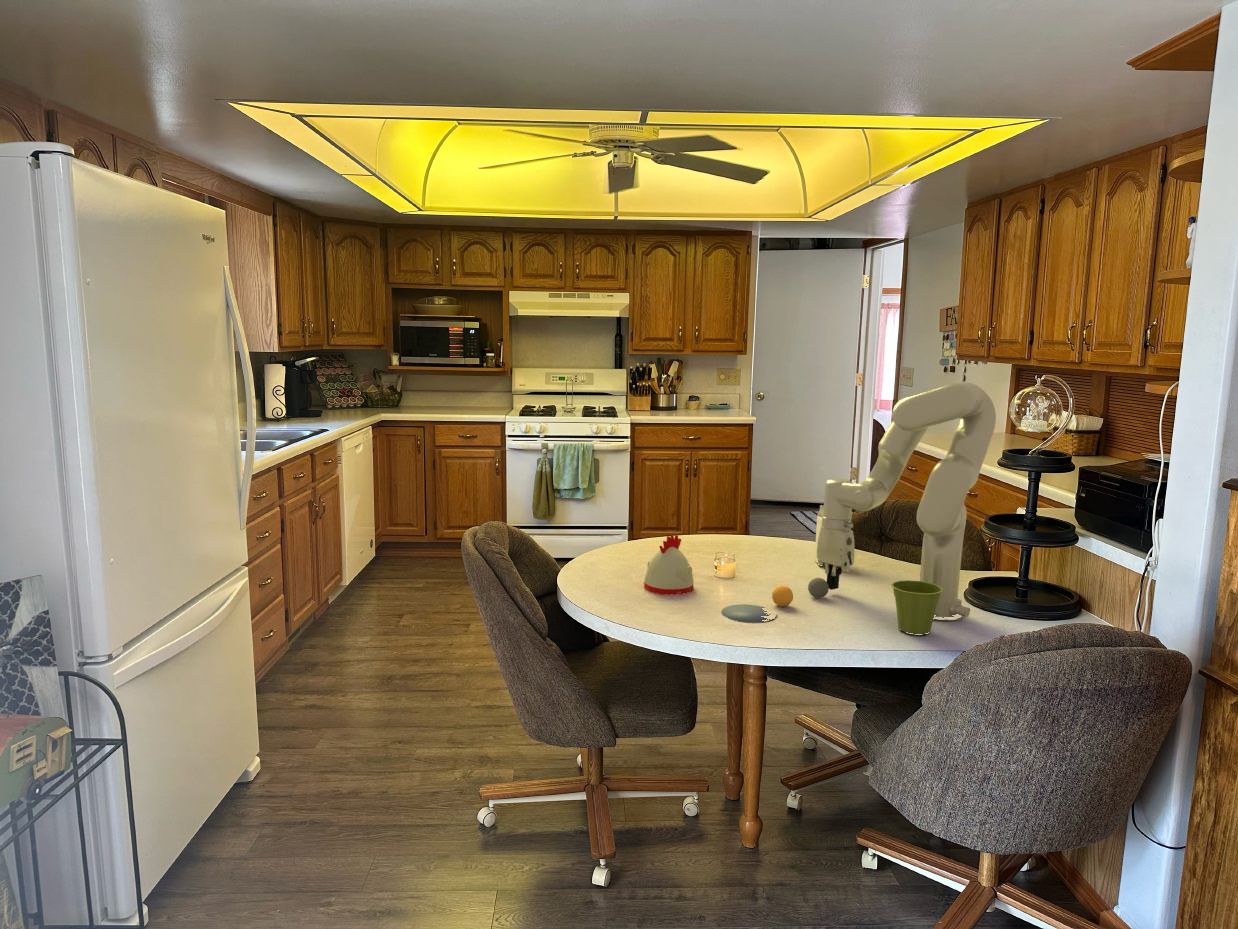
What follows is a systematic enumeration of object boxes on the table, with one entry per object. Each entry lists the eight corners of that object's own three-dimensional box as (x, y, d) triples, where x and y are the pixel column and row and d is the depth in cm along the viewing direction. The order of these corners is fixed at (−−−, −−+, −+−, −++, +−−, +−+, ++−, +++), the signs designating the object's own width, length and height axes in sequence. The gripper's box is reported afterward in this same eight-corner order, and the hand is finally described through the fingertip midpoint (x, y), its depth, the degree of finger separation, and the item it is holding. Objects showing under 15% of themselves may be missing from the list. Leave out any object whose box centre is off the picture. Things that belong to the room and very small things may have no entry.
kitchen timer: (703, 588, 234) (705, 536, 232) (670, 598, 225) (672, 544, 223) (667, 578, 244) (668, 528, 242) (634, 586, 235) (635, 534, 232)
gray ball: (832, 598, 227) (833, 579, 227) (818, 601, 224) (819, 582, 223) (816, 593, 232) (817, 574, 231) (803, 596, 229) (804, 577, 228)
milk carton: (842, 568, 259) (845, 508, 257) (819, 567, 259) (822, 507, 257) (836, 562, 266) (840, 503, 264) (814, 561, 267) (817, 503, 264)
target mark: (788, 616, 211) (788, 615, 211) (748, 626, 203) (748, 625, 203) (749, 602, 223) (749, 601, 223) (710, 610, 214) (710, 610, 214)
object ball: (797, 607, 219) (798, 586, 218) (782, 610, 216) (783, 590, 215) (781, 601, 224) (782, 581, 223) (767, 604, 220) (768, 584, 220)
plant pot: (927, 623, 209) (931, 579, 207) (947, 640, 197) (951, 594, 195) (881, 623, 208) (884, 579, 206) (898, 639, 196) (901, 593, 195)
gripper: (867, 527, 225) (862, 593, 227) (825, 517, 237) (821, 579, 240) (848, 530, 221) (843, 597, 223) (806, 519, 233) (803, 583, 236)
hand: (832, 588), depth 231 cm, fingers closed
